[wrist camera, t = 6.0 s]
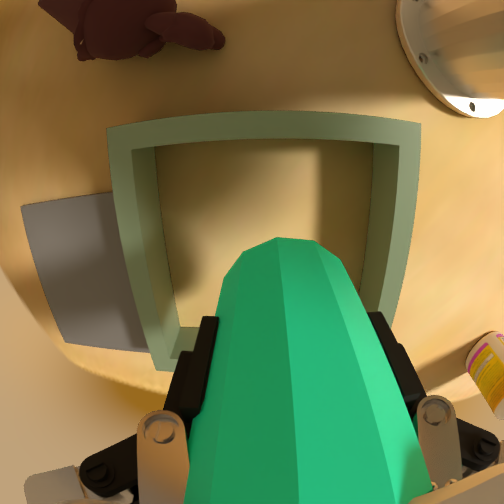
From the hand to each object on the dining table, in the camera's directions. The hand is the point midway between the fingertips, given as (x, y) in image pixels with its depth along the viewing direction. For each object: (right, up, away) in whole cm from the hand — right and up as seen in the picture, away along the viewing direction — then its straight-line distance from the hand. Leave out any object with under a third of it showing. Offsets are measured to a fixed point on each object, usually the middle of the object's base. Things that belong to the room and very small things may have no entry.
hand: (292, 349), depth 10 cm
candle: (0, +1, +3) cm, 4 cm away
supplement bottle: (+28, -9, +16) cm, 34 cm away
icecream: (-10, +19, +4) cm, 22 cm away
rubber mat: (-16, +1, +12) cm, 20 cm away
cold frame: (0, +4, +11) cm, 12 cm away
